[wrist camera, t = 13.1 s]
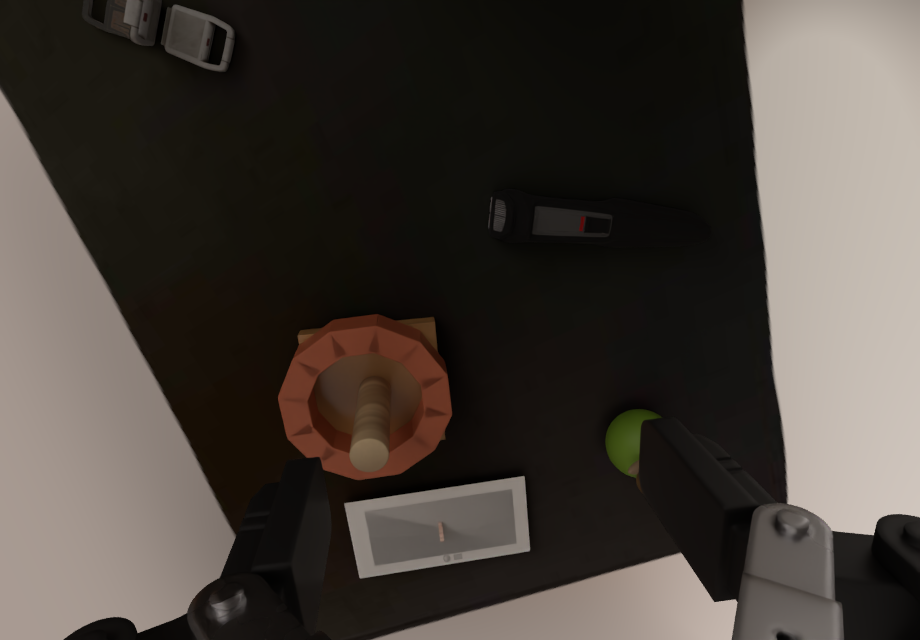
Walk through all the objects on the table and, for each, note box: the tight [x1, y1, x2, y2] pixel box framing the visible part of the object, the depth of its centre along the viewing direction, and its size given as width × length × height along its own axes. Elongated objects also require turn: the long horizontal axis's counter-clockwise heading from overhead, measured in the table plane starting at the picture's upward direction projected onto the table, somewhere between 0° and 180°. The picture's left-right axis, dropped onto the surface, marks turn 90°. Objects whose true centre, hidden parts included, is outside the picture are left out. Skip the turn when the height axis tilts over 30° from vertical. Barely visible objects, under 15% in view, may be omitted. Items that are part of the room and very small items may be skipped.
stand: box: [298, 317, 445, 472], centre depth 38 cm, size 10×10×10 cm
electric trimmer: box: [488, 189, 711, 248], centre depth 39 cm, size 4×16×3 cm, turn 85°
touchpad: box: [344, 476, 530, 578], centre depth 47 cm, size 8×15×2 cm, turn 96°
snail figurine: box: [605, 409, 662, 492], centre depth 41 cm, size 5×6×12 cm
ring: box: [278, 314, 452, 480], centre depth 41 cm, size 12×12×3 cm
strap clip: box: [82, 0, 235, 72], centre depth 32 cm, size 8×3×4 cm, turn 71°
